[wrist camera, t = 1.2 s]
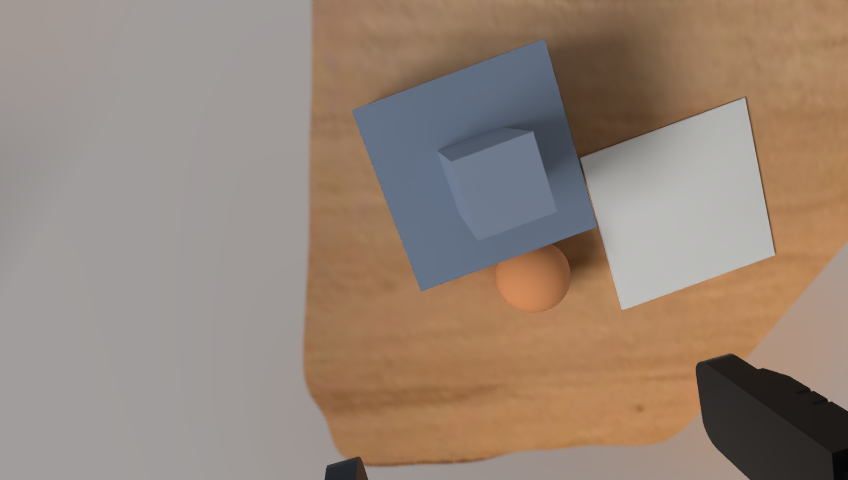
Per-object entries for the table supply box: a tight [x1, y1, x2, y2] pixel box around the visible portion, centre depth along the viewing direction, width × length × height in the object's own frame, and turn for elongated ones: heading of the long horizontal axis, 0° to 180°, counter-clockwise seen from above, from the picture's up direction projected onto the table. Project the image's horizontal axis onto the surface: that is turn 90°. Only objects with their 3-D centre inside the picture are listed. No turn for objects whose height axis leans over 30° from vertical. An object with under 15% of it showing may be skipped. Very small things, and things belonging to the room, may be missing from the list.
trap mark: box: [580, 98, 775, 310], centre depth 38 cm, size 12×12×1 cm
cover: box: [352, 39, 597, 291], centre depth 29 cm, size 10×10×15 cm
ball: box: [496, 244, 571, 313], centre depth 36 cm, size 5×5×5 cm
